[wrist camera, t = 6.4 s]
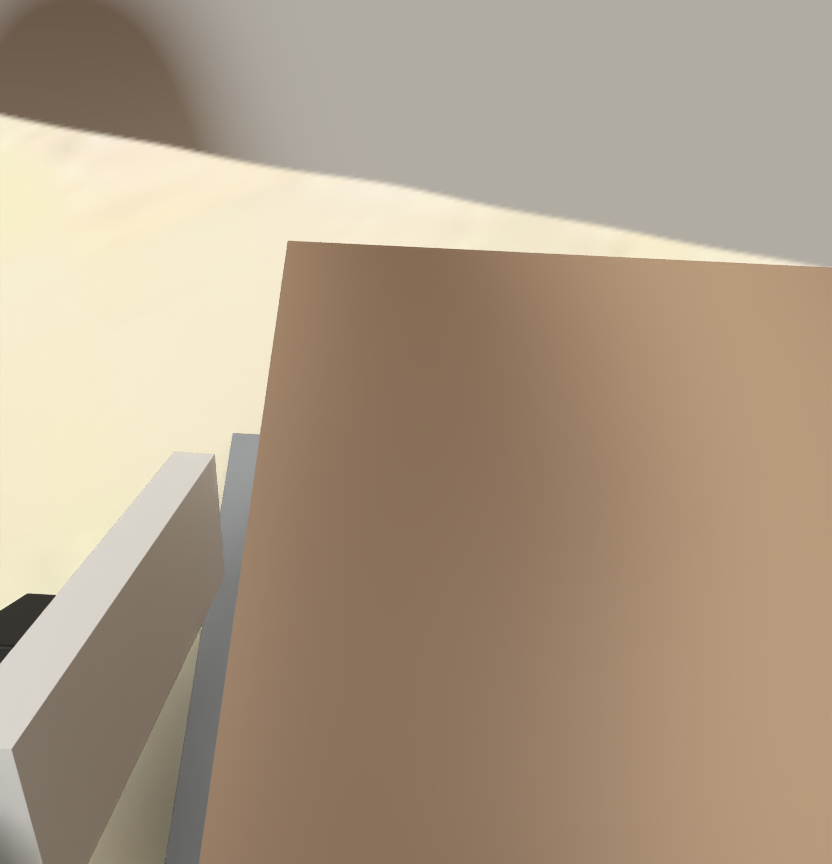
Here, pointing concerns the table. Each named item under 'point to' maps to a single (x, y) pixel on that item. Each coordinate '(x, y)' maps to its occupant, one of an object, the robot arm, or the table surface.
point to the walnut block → (534, 566)
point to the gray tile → (212, 662)
